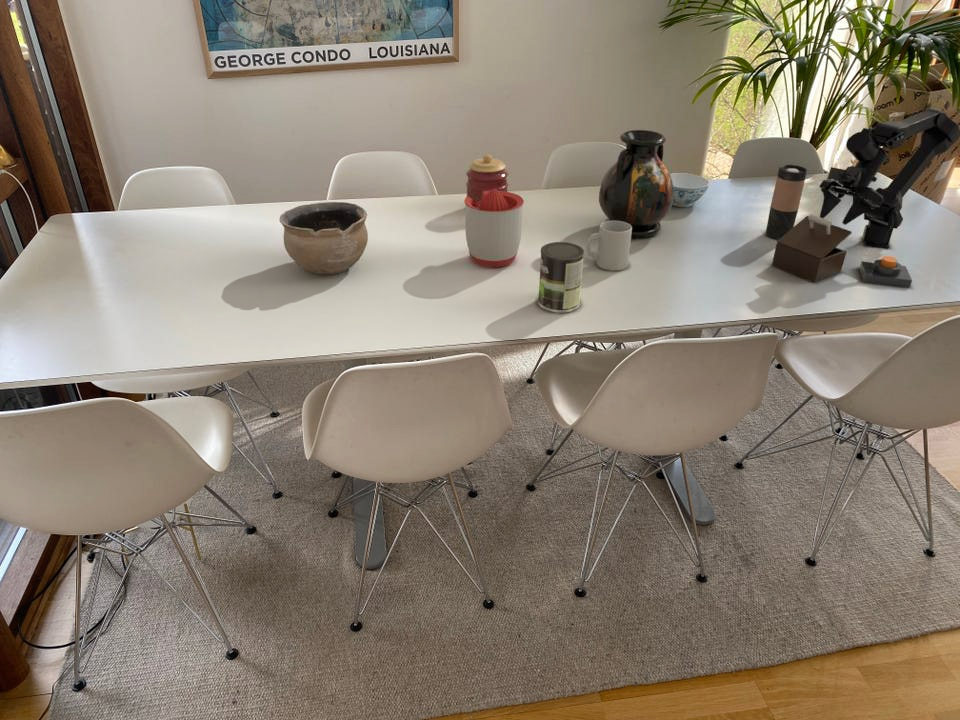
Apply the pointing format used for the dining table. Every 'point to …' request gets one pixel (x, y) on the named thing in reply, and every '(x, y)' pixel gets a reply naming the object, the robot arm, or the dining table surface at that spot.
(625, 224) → the mug
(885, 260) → the release button
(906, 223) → the dining table surface
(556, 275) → the coffee can
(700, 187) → the chinaware
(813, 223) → the lid
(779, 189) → the travel mug
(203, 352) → the dining table surface
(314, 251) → the ceramic bowl
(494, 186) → the kitchen canister
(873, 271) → the control block
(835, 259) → the brown lidded box
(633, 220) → the amphora vase
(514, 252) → the citrus juicer
